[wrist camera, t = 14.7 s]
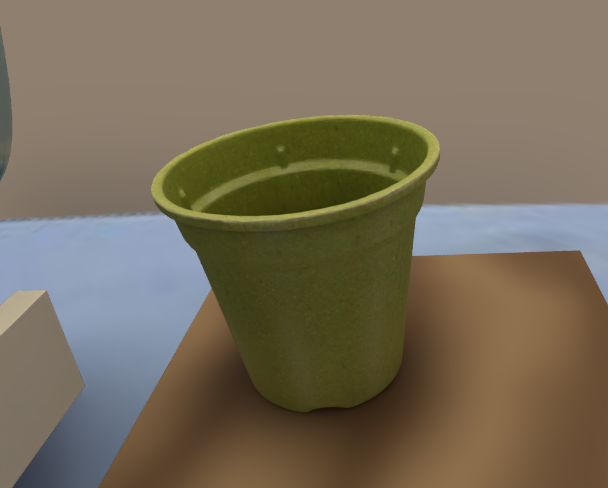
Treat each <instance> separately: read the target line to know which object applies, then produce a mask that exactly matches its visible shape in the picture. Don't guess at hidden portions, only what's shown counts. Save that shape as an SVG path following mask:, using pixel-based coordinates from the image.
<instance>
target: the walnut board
mask: <svg viewBox="0 0 608 488" xmlns="http://www.w3.org/2000/svg"><path fill="white" fill-rule="evenodd" d="M98 488H608V305H607V303H606V301H605V299H604V297H603V295H602V293H601V291H600V289H599V287H598V285H597V283H596V281H595V279H594V277H593V275H592V273H591V271H590V269H589V267H588V265H587V263H586V261H585V259H584V257H583V256H582V254H581V252H580V251H552V252H523V253H493V254H464V255H434V256H412V260H411V270H410V280H409V290H408V300H407V310H406V321H405V332H404V343H403V356H402V362H401V366H400V369H399V371H398V373H397V374H396V376H395V378H394V379H393V380H392V381H391V383H390V384H389V385H388V386H387V387H386V388H385V389H384V390H383V391H381V392H380V393H379V394H378V395H376V396H375V397H373V398H372V399H370V400H368V401H366V402H364V403H362V404H359V405H357V406H354V407H351V408H343V407H324V408H317V409H314V410H311V411H309V412H297V411H293V410H289V409H285V408H283V407H280V406H278V405H276V404H274V403H272V402H270V401H268V400H267V399H266V398H264V397H263V396H262V395H261V394H260V393H259V392H258V391H257V389H256V388H255V386H254V385H253V383H252V381H251V379H250V376H249V374H248V372H247V370H246V367H245V365H244V363H243V361H242V358H241V356H240V354H239V351H238V349H237V346H236V344H235V341H234V339H233V336H232V334H231V332H230V329H229V327H228V325H227V322H226V320H225V318H224V316H223V313H222V311H221V308H220V306H219V304H218V301H217V299H216V296H215V294H214V292H213V289H211V290H210V292H209V294H208V296H207V297H206V299H205V301H204V303H203V305H202V306H201V308H200V310H199V312H198V313H197V315H196V317H195V319H194V320H193V322H192V324H191V326H190V327H189V329H188V331H187V333H186V334H185V336H184V338H183V340H182V341H181V343H180V345H179V347H178V348H177V350H176V352H175V354H174V356H173V357H172V359H171V361H170V363H169V364H168V366H167V368H166V370H165V371H164V373H163V375H162V377H161V378H160V380H159V382H158V384H157V385H156V387H155V389H154V391H153V392H152V394H151V396H150V398H149V399H148V401H147V403H146V405H145V407H144V408H143V410H142V412H141V414H140V415H139V417H138V419H137V421H136V422H135V424H134V426H133V428H132V429H131V431H130V433H129V435H128V436H127V438H126V440H125V442H124V443H123V445H122V447H121V449H120V450H119V452H118V454H117V456H116V458H115V459H114V461H113V463H112V465H111V466H110V468H109V470H108V472H107V473H106V475H105V477H104V479H103V480H102V482H101V484H100V486H99V487H98Z"/></svg>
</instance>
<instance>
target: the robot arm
mask: <svg viewBox="0 0 608 488" xmlns="http://www.w3.org/2000/svg"><path fill="white" fill-rule="evenodd" d="M11 142H12V109H11V96H10V86H9V79H8V72H7V65H6V59H5V53H4V46H3V40H2V34H1V28H0V180H1V179H2V177H3V175H4V173H5V170H6V168H7V165H8V161H9V157H10V151H11ZM84 387H85V385H84V382H83V380H82V377H81V375H80V372H79V370H78V367H77V365H76V362H75V360H74V357H73V355H72V352H71V350H70V347H69V345H68V342H67V340H66V337H65V335H64V332H63V330H62V327H61V325H60V322H59V320H58V317H57V315H56V312H55V310H54V307H53V305H52V303H51V300H50V298H49V295H48V293H47V290H38V291H16V292H15V293H14V294H13V295H11V296H10V297H9V298H8V299H7V300H6V301H5V302H4V303H3V304H2V305H1V306H0V488H12V487H13V486H14V484H15V483H16V482H17V480H18V479H19V477H20V476H21V475H22V473H23V472H24V471H25V469H26V468H27V466H28V465H29V464H30V462H31V461H32V459H33V458H34V457H35V455H36V454H37V452H38V451H39V450H40V448H41V447H42V445H43V444H44V443H45V441H46V440H47V438H48V437H49V436H50V434H51V433H52V431H53V430H54V429H55V427H56V426H57V424H58V423H59V422H60V420H61V419H62V417H63V416H64V415H65V413H66V412H67V410H68V409H69V408H70V406H71V405H72V403H73V402H74V401H75V399H76V398H77V397H78V395H79V394H80V392H81V391H82V390H83V388H84Z"/></svg>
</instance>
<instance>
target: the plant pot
mask: <svg viewBox="0 0 608 488" xmlns="http://www.w3.org/2000/svg"><path fill="white" fill-rule="evenodd" d="M439 158H440V146H439V143H438V140H437V139H436V137H435V136H434V135H433V134H432V133H431V132H429V131H428V130H426V129H425V128H423V127H420V126H418V125H416V124H413V123H411V122H407V121H403V120H398V119H394V118H388V117H379V116H362V115H342V116H340V115H339V116H336V115H335V116H316V117H306V118H300V119H292V120H285V121H280V122H274V123H270V124H266V125H262V126H258V127H253V128H248V129H244V130H240V131H237V132H233V133H230V134H227V135H223V136H220V137H218V138H215V139H214V140H211V141H208V142H205V143H203V144H201V145H198V146H196V147H193V148H192V149H190V150H189V151H187V152H186V153H183V154H181V155H179V156H177V157H176V158H174V159H173V160H172V161H170V162H169V163H168V164H167V165H166V166H165V167H163V169H162V170H161V171H159V172H158V174H157V175H156V176H155V178H154V180H153V183H152V187H151V194H152V197H153V199H154V202H155V204H156V205H157V207H158V208H159V209H160V211H161V212H162V213H164V214H165V215H167V216H168V217H169V218H171V219H173V220H175V222H176V224H177V226H178V228H179V230H180V232H181V234H182V236H183V238H184V239H185V241H186V242H187V243H188V244H189V245H190V246H191V248H192V249H194V250H195V251H196V253H197V255H198V257H199V259H200V262H201V264H202V266H203V269H204V271H205V273H206V276H207V278H208V280H209V283H210V285H211V287H212V289H213V292H214V294H215V296H216V299H217V301H218V304H219V306H220V308H221V311H222V313H223V316H224V318H225V320H226V322H227V325H228V327H229V329H230V332H231V334H232V336H233V339H234V341H235V344H236V346H237V349H238V351H239V354H240V356H241V358H242V361H243V363H244V365H245V367H246V370H247V372H248V374H249V376H250V379H251V381H252V383H253V385H254V386H255V388H256V389H257V391H258V392H259V393H260V394H261V395H262V396H263V397H264V398H266V399H267V400H268V401H270V402H272V403H274V404H276V405H278V406H280V407H283V408H285V409H289V410H293V411H297V412H309V411H311V410H314V409H317V408H324V407H343V408H351V407H354V406H357V405H359V404H362V403H364V402H366V401H368V400H370V399H372V398H373V397H375V396H376V395H378V394H379V393H380V392H381V391H383V390H384V389H385V388H386V387H387V386H388V385H389V384H390V383H391V381H392V380H393V379H394V378H395V376H396V374H397V373H398V371H399V369H400V366H401V362H402V356H403V343H404V332H405V321H406V310H407V300H408V290H409V280H410V270H411V260H412V249H413V238H414V229H415V220H416V216H417V214H418V213H419V211H420V209H421V207H422V203H423V200H424V192H425V184H426V180H427V179H428V178H429V177H430V176H431V175H432V174H433V172H434V171H435V169H436V167H437V165H438V162H439Z"/></svg>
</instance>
